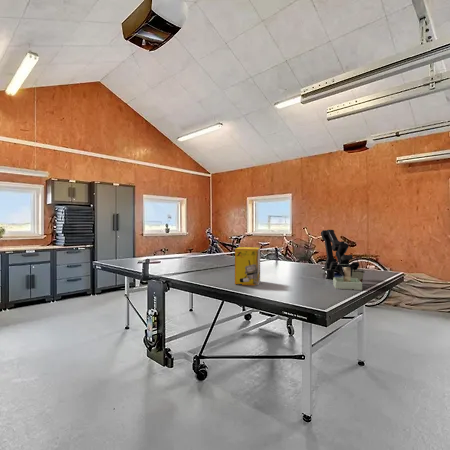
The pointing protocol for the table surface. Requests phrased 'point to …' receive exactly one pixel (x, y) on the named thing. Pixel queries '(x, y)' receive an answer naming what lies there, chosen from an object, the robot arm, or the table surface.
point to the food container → (358, 274)
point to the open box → (347, 284)
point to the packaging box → (247, 266)
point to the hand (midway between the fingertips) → (347, 276)
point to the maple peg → (347, 274)
